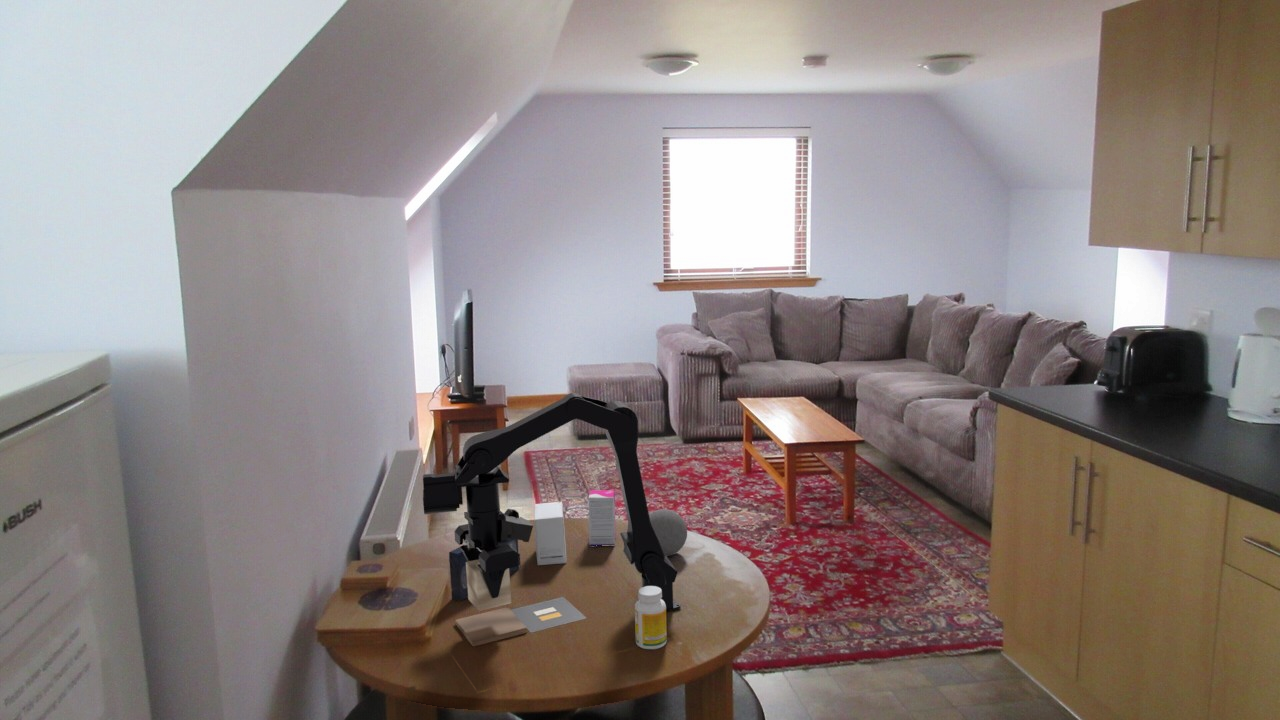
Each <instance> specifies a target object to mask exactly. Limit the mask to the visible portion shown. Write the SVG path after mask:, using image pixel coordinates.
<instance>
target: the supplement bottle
mask: <svg viewBox="0 0 1280 720" xmlns="http://www.w3.org/2000/svg"><path fill="white" fill-rule="evenodd" d="M637 594H638V595H637V597H638V600H636V601H637V602H636V604H634V625H635V626H634V628H635V630H634V632H635V643H636V645H637V647H640V648H641V649H645V650H657V649H660V648H662V647H664V646H665V645H666V643H667V640H668V637H667V635H668V633H667V612H666V604H665V602H664V601H663V600H662V599H661V598H662V590H661V588H659V587H656V586H645V587H642V586H641V587H640V588H639V589H638V592H637Z"/></svg>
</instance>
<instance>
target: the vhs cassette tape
mask: <svg viewBox="0 0 1280 720" xmlns="http://www.w3.org/2000/svg"><path fill="white" fill-rule="evenodd" d="M507 544H508V545H509V546H511V547H512V548H513V549H514V550H516V551H517V552H518V553H519V540H516V539H510V538H508V542H505V543H499V546H502V545H507ZM460 547H461V546H459V547H456V548H455V549H453V550H451V551H449V552H448V557H449V558H448V559H449V560H448V561H449V573H450V587H451V590H450V591H451V599H452V600H455V601H458V602H462V601H463V600H466V599H467V598H468V587H467V573H466V562H468V561H467V559H466V557H465V556H464V554H463V552H462V550H461V549H460ZM519 569H520V565H519V566H517V567H513V568H509V575H511V574H513V573H515V572H517V571H518V570H519Z"/></svg>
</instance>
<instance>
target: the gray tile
mask: <svg viewBox="0 0 1280 720" xmlns="http://www.w3.org/2000/svg"><path fill="white" fill-rule="evenodd" d="M510 610H511V611H512V612H513V613H514V615H515V616H516V617H517V618H518V619H519V620H520V621H521V622H522V623H523V624H524V625H525V626H526V627H527V631H529V632H530V634H532V633H536V632H539V631H543V630H547V629H552V628H556V627H560V626H563V625H567V624H570V623H574V622H578V621H583V620H585V619H587V617H586V616H585V615H584V614H583V613H582V612H581V611H580V610H579V609H577V608H576V607H575V606H574V605H573V604H572V603H570V602H569V601H568V600H567V599H566V598H565V597H564V596H561V597H557V598H553V599H550V600H548V599H547V600H545V601H541V602H536V603H532V604H527V605H524V606H521V607H515V608H512V609H510Z"/></svg>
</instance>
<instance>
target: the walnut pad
mask: <svg viewBox="0 0 1280 720" xmlns="http://www.w3.org/2000/svg"><path fill="white" fill-rule="evenodd" d="M455 625H456V626H457V628H458V630H459V631H460V632H461V633H462V635H463V636H464V638H465V639H466V640H467V641H468V642H469V643H470V645H471V646H472V647H476V646H480V645H485V644H488V643H492V642H496V641H500V640H503V639H508V638H512V637H515V636H519V635H522V634H527V633H528V629H527V627H526V626H525V625H524V624H523V623H522V622H521V621H520V620H519V619H518V618H517V617H516V616H515V615H514V613H513V612H512V611H511V609H510V608H509V607H508V606H507V607H503V608H498V609H494V610H490V611H485V612H482V613H478V614H474V615H469V616H465V617H461V618H457V619H455Z"/></svg>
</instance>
